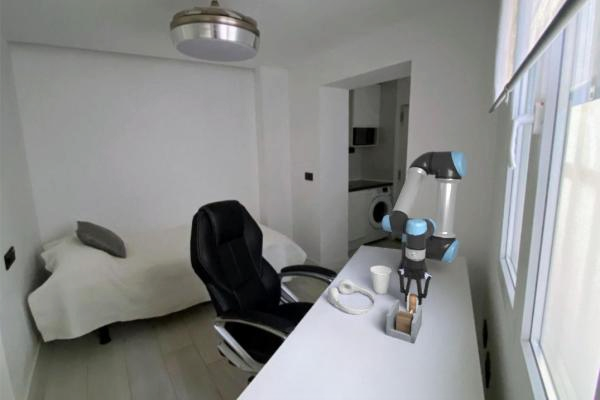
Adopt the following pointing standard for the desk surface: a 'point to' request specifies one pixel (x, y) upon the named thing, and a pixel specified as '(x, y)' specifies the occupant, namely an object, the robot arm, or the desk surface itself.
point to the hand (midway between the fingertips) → (412, 310)
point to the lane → (392, 321)
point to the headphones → (346, 288)
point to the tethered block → (406, 316)
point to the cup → (380, 278)
